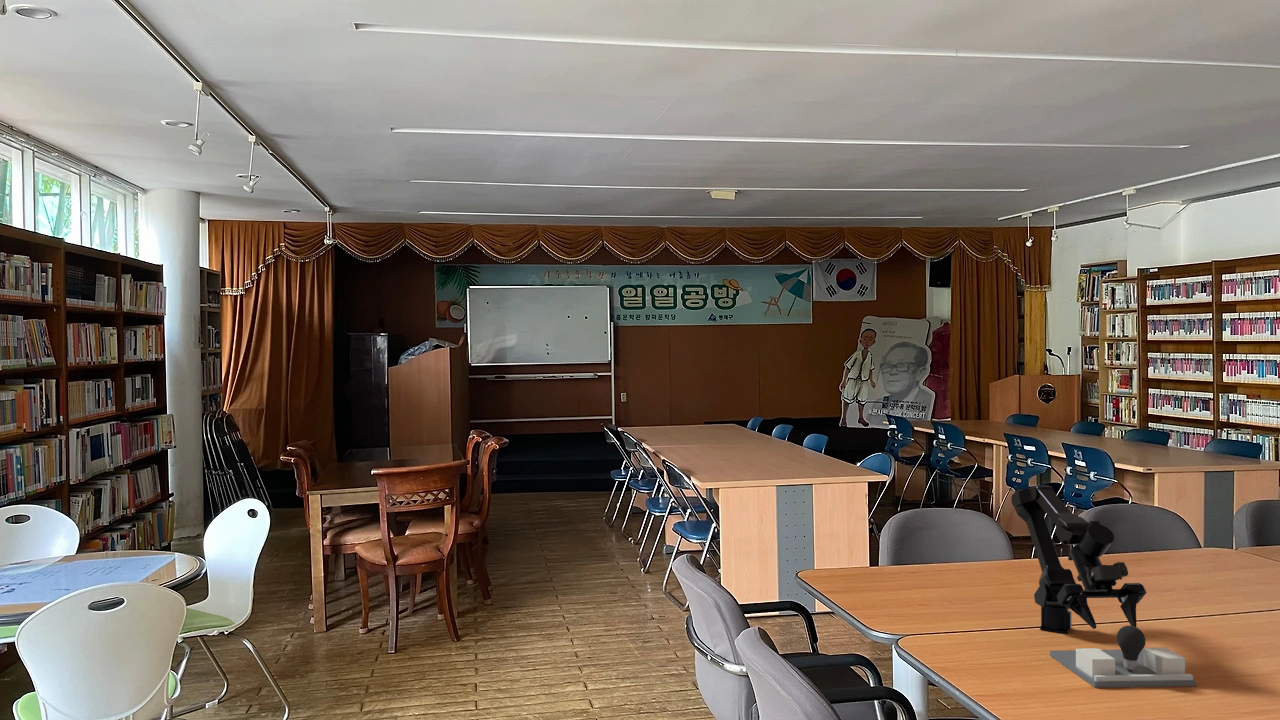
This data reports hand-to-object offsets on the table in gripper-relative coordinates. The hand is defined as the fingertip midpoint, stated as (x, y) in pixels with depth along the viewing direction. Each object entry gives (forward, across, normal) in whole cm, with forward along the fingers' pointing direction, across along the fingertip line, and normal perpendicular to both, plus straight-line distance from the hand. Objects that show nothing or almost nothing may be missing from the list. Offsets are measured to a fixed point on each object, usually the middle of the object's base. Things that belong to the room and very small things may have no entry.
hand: (1115, 627), depth 201 cm
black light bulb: (+10, 0, +2) cm, 10 cm away
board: (+8, 0, +5) cm, 9 cm away
